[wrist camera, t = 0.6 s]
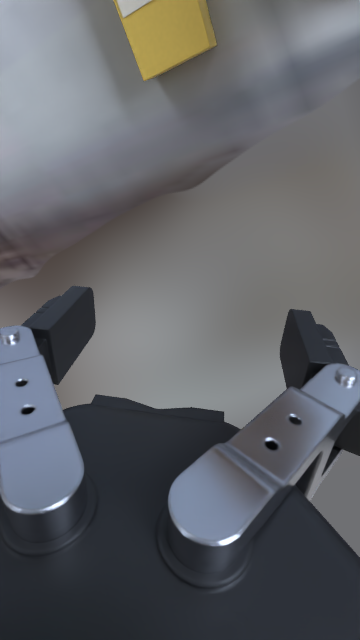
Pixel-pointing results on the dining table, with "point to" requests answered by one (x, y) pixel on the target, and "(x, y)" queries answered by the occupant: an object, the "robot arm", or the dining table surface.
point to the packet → (165, 32)
